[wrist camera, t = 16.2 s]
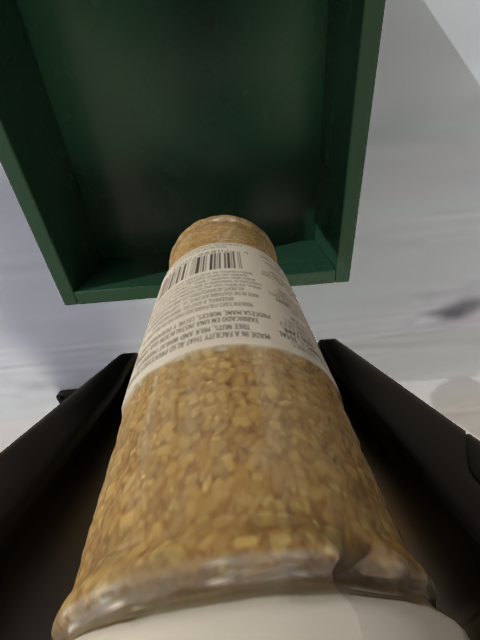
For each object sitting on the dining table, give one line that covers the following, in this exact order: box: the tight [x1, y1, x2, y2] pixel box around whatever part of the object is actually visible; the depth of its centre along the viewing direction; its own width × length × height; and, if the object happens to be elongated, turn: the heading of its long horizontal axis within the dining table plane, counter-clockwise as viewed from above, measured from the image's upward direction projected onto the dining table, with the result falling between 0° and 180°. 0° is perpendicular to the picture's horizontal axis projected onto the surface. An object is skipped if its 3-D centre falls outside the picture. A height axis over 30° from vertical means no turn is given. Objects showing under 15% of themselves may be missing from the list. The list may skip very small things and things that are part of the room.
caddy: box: [0, 0, 385, 305], centre depth 14 cm, size 14×14×5 cm
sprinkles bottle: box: [51, 215, 470, 640], centre depth 7 cm, size 5×5×14 cm
